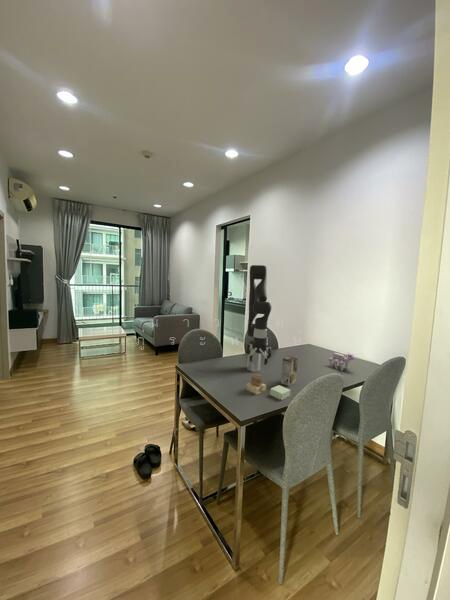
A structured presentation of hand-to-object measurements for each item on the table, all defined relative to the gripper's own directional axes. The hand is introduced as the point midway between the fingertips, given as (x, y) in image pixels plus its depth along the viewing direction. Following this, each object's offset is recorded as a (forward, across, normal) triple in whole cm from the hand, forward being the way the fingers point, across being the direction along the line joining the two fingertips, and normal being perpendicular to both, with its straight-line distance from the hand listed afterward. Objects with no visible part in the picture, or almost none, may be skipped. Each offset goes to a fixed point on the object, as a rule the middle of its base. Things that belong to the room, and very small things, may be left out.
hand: (258, 363), depth 153 cm
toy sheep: (+18, -44, -71) cm, 85 cm away
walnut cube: (+13, 0, 0) cm, 13 cm away
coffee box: (+17, -14, -22) cm, 31 cm away
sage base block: (+17, -14, 0) cm, 22 cm away
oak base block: (+17, 0, 0) cm, 17 cm away
